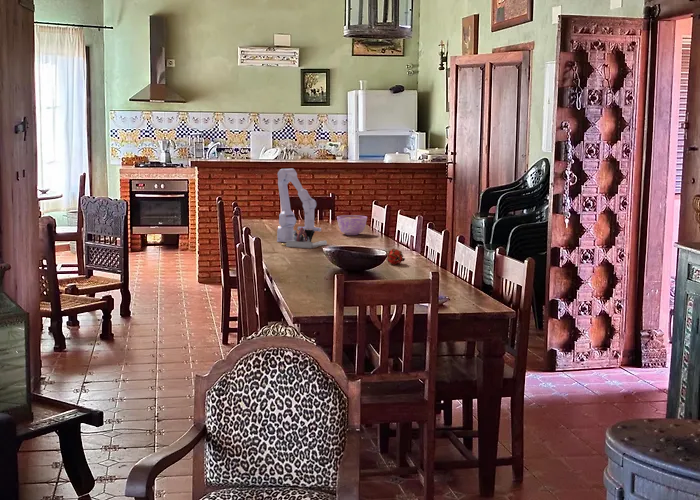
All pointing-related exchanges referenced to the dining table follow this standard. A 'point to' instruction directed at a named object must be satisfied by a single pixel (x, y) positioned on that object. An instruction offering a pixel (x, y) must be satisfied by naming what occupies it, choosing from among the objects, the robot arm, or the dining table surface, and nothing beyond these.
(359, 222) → the purple rounded bowl
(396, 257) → the dragon fruit
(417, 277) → the dining table surface
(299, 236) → the brake caliper
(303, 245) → the receiver
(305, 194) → the robot arm
